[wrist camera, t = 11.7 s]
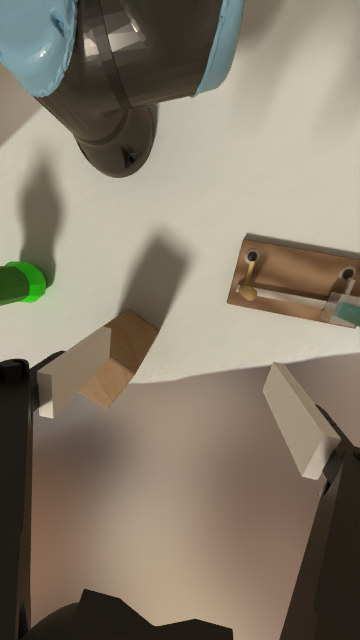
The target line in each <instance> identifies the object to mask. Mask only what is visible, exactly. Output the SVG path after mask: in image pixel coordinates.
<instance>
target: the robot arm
mask: <svg viewBox="0 0 360 640" xmlns="http://www.w3.org/2000/svg"><path fill="white" fill-rule="evenodd" d="M244 1H245V0H0V61H1V63H2V64H3V65H4V66H5V67H6V68H7V69H8V70H9V71H10V72H11V74H13V76H14V77H15V78H16V79H17V81H18V82H19V83H20V85H21V86H22V87H23V88H24V89H25V90H26V91H27V92H28V93H30V94H31V95H32V96H33V97H34V98H35V99H36V100H37V101H38V102H39V103H41V104H42V105H43V106H44V107H45V108H46V109H47V110H48V111H49V112H50V113H51V114H52V115H53V116H55V117H56V118H57V119H58V120H59V121H60V122H61V123H62V124H63V125H64V126H65V127H66V128H67V129H68V130H70V131H71V132H72V133H73V135H74V138H75V140H76V141H77V144H78V146H79V148H80V150H81V152H82V153H83V155H84V156H85V158H86V159H87V160H88V161H89V162H90V163H91V164H92V165H93V166H94V167H95V168H96V169H97V170H99V171H100V172H101V173H103V174H105V175H107V176H110V177H115V178H122V177H127V176H129V175H132V174H133V173H135V172H136V171H138V170H139V169H140V168H141V167H142V166H143V164H144V163H145V162H146V160H147V158H148V156H149V154H150V151H151V148H152V143H153V122H152V117H151V114H150V111H149V108H148V105H151V104H156V103H160V102H165V101H169V100H174V99H178V98H183V97H187V96H189V97H191V98H194V97H195V96H197V95H198V94H200V93H203V92H206V91H210V90H213V89H216V88H218V87H219V86H220V85H221V84H222V82H223V81H224V80H225V79H226V77H227V75H228V73H229V71H230V68H231V65H232V62H233V59H234V55H235V51H236V46H237V42H238V37H239V31H240V26H241V20H242V14H243V8H244ZM110 340H111V328H107V327H101V328H99V329H98V330H96V331H95V332H93V333H92V334H91V335H89V336H88V337H86V338H85V339H83V340H82V341H80V342H79V343H77V344H76V345H75V346H73V347H72V348H70V349H69V350H67V351H59V352H56V353H54V354H52V355H50V356H49V357H47V359H44V360H43V361H42V362H40V363H38V364H37V365H35V366H33V367H32V368H30V369H29V363H28V361H27V360H25V359H10V360H5V361H3V362H0V640H233V630H232V629H230V628H227V627H223V626H219V625H216V624H212V623H209V622H205V621H201V620H198V619H192V620H187V621H182V622H177V623H172V624H167V625H163V626H153V625H152V624H150V623H149V622H148V621H147V620H145V619H144V618H143V617H142V616H140V615H139V614H138V613H137V612H136V611H134V610H133V609H132V608H131V607H129V606H128V605H127V604H126V603H125V602H123V601H122V600H121V599H120V598H117V597H113V596H109V595H106V594H102V593H98V592H95V591H91V590H87V589H84V591H83V593H82V596H81V599H80V602H78V603H72V604H70V605H67V606H64V607H62V608H60V609H58V610H56V611H54V612H53V613H51V614H49V615H48V616H47V617H45V618H44V619H42V620H41V621H40V622H38V623H37V624H36V625H35V626H34V627H33V628H31V597H30V559H31V557H30V556H31V507H32V506H31V505H32V454H33V450H32V449H33V412H34V411H35V410H36V409H37V408H38V407H39V413H40V416H45V417H48V418H54V417H55V416H56V415H57V414H58V413H59V412H60V411H61V410H62V409H63V407H64V406H65V405H66V404H67V403H68V402H69V401H70V400H71V399H72V398H73V397H74V396H75V395H76V394H77V392H78V391H79V390H80V389H81V388H82V387H83V386H84V385H85V384H86V383H87V382H88V381H89V379H90V378H91V377H92V376H93V375H94V374H95V373H96V372H97V371H98V370H99V369H100V368H101V366H102V365H103V364H104V363H105V362H106V361H107V360H108V359H109V355H110ZM263 393H264V395H265V397H266V399H267V401H268V403H269V406H270V408H271V410H272V412H273V414H274V417H275V419H276V421H277V423H278V425H279V428H280V430H281V432H282V434H283V436H284V438H285V440H286V443H287V445H288V447H289V449H290V452H291V454H292V456H293V458H294V460H295V462H296V465H297V467H298V469H299V471H300V473H301V475H302V476H303V477H307V478H311V479H315V480H318V478H319V476H320V475H321V473H322V471H323V473H324V475H325V476H326V478H327V481H326V483H325V484H324V486H323V488H322V490H321V491H320V493H319V494H318V496H320V497H321V498H320V501H319V505H318V508H317V512H316V515H315V519H314V522H313V525H312V529H311V533H310V536H309V539H308V543H307V546H306V550H305V553H304V557H303V561H302V563H301V567H300V571H299V574H298V577H297V581H296V584H295V588H294V591H293V595H292V598H291V602H290V605H289V608H288V612H287V615H286V619H285V623H284V626H283V629H282V633H281V636H280V640H360V448H359V447H355V446H353V444H352V443H351V442H350V441H349V440H348V438H347V437H346V436H345V434H344V433H343V432H342V431H341V430H340V429H339V427H338V426H337V425H336V423H335V422H334V421H333V420H332V419H331V417H330V416H329V415H328V414H327V412H326V411H325V410H323V409H322V408H321V407H320V406H318V405H316V404H314V403H313V402H312V400H311V399H310V398H309V397H308V395H307V394H306V393H305V391H304V390H303V389H302V388H301V386H300V385H299V384H298V383H297V381H296V380H295V379H294V377H293V376H292V375H291V373H290V372H289V371H288V370H287V368H286V367H285V366H284V364H281V363H276V362H273V365H272V367H271V370H270V373H269V375H268V378H267V381H266V383H265V386H264V389H263Z"/></svg>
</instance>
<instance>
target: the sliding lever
mask: <svg viewBox="0 0 360 640" xmlns="http://www.w3.org/2000/svg"><path fill="white" fill-rule="evenodd" d="M344 280H345V281H349V282H348V284H347V286H346V288H345V290H344V293H343V294H342V293H336V292H331V295H330V297H329V299H328V302H327V304H326V306H325V309H324V311H323V313H322V316H321V318H320V319H322V320H324V321H326V322H328V323H332V324H337V325H342V326H347V327H353V328H354V326H355V325H357V326H359V327H360V297H357V296H352V295H349V294H350V292H351V290H352V287H353V285H354V283H355V281H356V280H354V278H351V277H346V278H345V279H344Z"/></svg>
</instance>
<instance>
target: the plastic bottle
mask: <svg viewBox="0 0 360 640" xmlns="http://www.w3.org/2000/svg"><path fill="white" fill-rule="evenodd" d="M45 289H46V280H45V278H44V276H43V274H42V272H41V271H40V270H39V269H37V268H36V267H35V266H33V265H32V264H30V263H28V262H9V263H7V264H6V265H5V266H0V306H1V305H5V304H9V303H14V302H29V303H31V302H35V301H36V300H37V299H39V298H40V297H41V296H42V295H44V294H45Z"/></svg>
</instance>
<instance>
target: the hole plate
mask: <svg viewBox="0 0 360 640" xmlns="http://www.w3.org/2000/svg"><path fill="white" fill-rule="evenodd" d="M346 277H351V278H354V280H356V281H355V283H354V285H353V287H352V290H351V292H350V294H349V295H352V296H357V297H360V260H356V259H350V258H345V257H339V256H333V255H328V254H322V253H317V252H311V251H306V250H300V249H295V248H289V247H283V246H278V245H272V244H267V243H261V242H256V241H250V240H245V239H244V240H243V242H242V246H241V250H240V253H239V257H238V261H237V265H236V269H235V273H234V277H233V280H232V284H231V288H230V292H229V296H228V300H227V303H228V304H232V305H237V306H242V307H247V308H252V309H257V310H263V311H268V312H273V313H278V314H283V315H288V316H293V317H298V318H303V319H309V320H314V321H319V322H324V323H328V322H326V321H324V320H322V319H320V318H321V316H322V313H323V311H324V309H325V306H326V304H327V302H328V299H329V297H330V295H331V292H336V293H342V294H343V293H344V290H345V288H346V286H347V284H348V282H349V281H345V280H344V279H345V278H346ZM329 324H332V323H329ZM334 325H337V324H334ZM339 326H342V325H339ZM356 326H357V325H355V326H354V328H356ZM344 327H347V326H344ZM349 328H353V327H349Z"/></svg>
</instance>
